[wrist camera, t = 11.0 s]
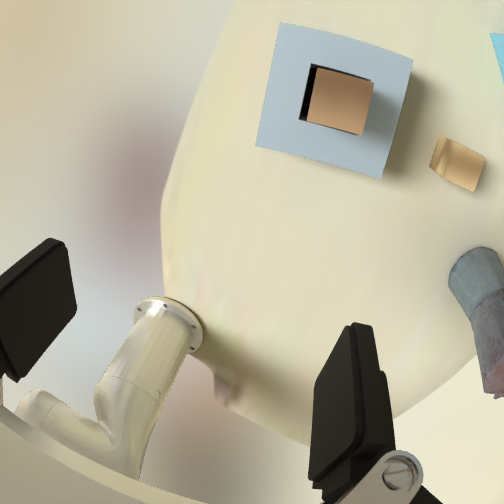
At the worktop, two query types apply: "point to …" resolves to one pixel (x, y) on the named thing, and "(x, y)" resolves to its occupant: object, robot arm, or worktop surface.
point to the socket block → (320, 136)
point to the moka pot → (483, 311)
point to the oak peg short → (457, 163)
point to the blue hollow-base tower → (499, 50)
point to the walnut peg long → (340, 101)
